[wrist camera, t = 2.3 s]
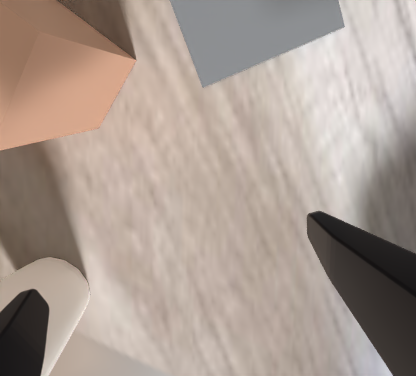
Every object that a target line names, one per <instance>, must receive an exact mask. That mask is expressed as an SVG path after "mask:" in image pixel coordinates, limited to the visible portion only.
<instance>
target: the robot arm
mask: <svg viewBox="0 0 416 376" xmlns="http://www.w3.org/2000/svg"><path fill="white" fill-rule="evenodd" d="M307 235H308V238H309V240H310V242H311V244H312V246H313V248H314V250H315V252H316V254H317V256H318V258H319V260H320V262H321V264H322V266H323V268H324V270H325V272H326V273H327V275H328V277H329V279H330V281H331V282H332V284H333V285H334V287H335V288H336V290H337V291H338V293H339V294H340V296H341V297H342V299H343V300H344V302H345V303H346V305H347V306H348V308H349V309H350V311H351V312H352V314H353V316H354V317H355V319H356V320H357V322H358V323H359V325H360V326H361V328H362V329H363V331H364V332H365V334H366V335H367V337H368V338H369V340H370V341H371V343H372V344H373V346H374V347H375V349H376V350H377V352H378V353H379V355H380V356H381V358H382V359H383V361H384V362H385V364H386V365H387V367H388V368H389V370H390V371H391V373H392V374H393V376H416V254H415V253H413V252H411V251H408V250H406V249H404V248H402V247H400V246H397V245H395V244H393V243H391V242H388V241H386V240H384V239H382V238H380V237H377V236H375V235H373V234H371V233H368V232H366V231H364V230H362V229H360V228H357V227H355V226H353V225H351V224H348V223H346V222H344V221H342V220H339V219H337V218H335V217H333V216H331V215H328V214H326V213H324V212H322V211H316V212H312V213H309V214H308V215H307ZM48 321H49V305H48V303H47V302H46V301H45V299H44V298H43V297H42V296H41V294H40V293H39V292H38V291H37V290H36V289H29V290H26V291H22V292H20V293H19V294H18V295H17V296H16V297H15V298H14V299H13V300H12V301H11V302H10V303H9V304H8V305H7V306H6V307H5V308H4V309H3V310H2V311H1V312H0V376H41V372H42V367H43V362H44V356H45V348H46V339H47V330H48Z"/></svg>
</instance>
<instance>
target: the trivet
mask: <svg viewBox="0 0 416 376" xmlns="http://www.w3.org/2000/svg"><path fill="white" fill-rule="evenodd" d="M170 2H171V5H172V7H173V10H174V13H175V15H176V18H177V21H178V23H179V26H180V29H181V31H182V34H183V37H184V39H185V42H186V45H187V47H188V50H189V52H190V55H191V58H192V60H193V63H194V66H195V68H196V71H197V74H198V76H199V79H200V82H201V84H202V87H203V88H205V87H207V86H209V85H212V84H214V83H216V82H219V81H221V80H223V79H226V78H228V77H230V76H233V75H235V74H237V73H240V72H242V71H244V70H247V69H249V68H251V67H254V66H256V65H258V64H261V63H263V62H265V61H268V60H270V59H272V58H275V57H277V56H279V55H282V54H284V53H286V52H289V51H291V50H293V49H296V48H298V47H300V46H303V45H305V44H307V43H310V42H312V41H314V40H317V39H319V38H321V37H324V36H326V35H328V34H331V33H333V32H335V31H338V30H340V29H342V28H344V27H345V26H344V22H343V18H342V14H341V10H340V5H339V1H338V0H170Z"/></svg>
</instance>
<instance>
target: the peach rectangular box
mask: <svg viewBox="0 0 416 376" xmlns="http://www.w3.org/2000/svg"><path fill="white" fill-rule="evenodd" d="M135 62H136V60H135V59H134V58H133V57H131V56H130V55H129V54H127V53H126V52H125V51H123V50H122V49H121V48H119V47H118V46H117V45H115V44H114V43H113V42H111V41H110V40H109V39H107V38H106V37H105V36H104V35H102V34H101V33H100V32H98V31H97V30H96V29H94V28H93V27H92V26H90V25H89V24H88V23H86V22H85V21H84V20H82V19H81V18H80V17H78V16H77V15H76V14H74V13H73V12H72V11H70V10H69V9H68V8H66V7H65V6H64V5H62V4H61V3H60V2H59V1H57V0H0V150H5V149H9V148H14V147H18V146H23V145H27V144H32V143H36V142H40V141H45V140H49V139H54V138H58V137H63V136H67V135H72V134H76V133H81V132H85V131H89V130H94V129H98V128H99V127H100V125H101V123H102V121H103V120H104V118H105V116H106V114H107V112H108V111H109V109H110V107H111V105H112V103H113V102H114V100H115V98H116V96H117V94H118V93H119V91H120V89H121V87H122V85H123V83H124V82H125V80H126V78H127V76H128V74H129V73H130V71H131V69H132V67H133V65H134V64H135Z"/></svg>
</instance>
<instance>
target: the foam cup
mask: <svg viewBox="0 0 416 376" xmlns="http://www.w3.org/2000/svg"><path fill="white" fill-rule="evenodd" d="M29 289H36V290H37V291H38V292H39V293H40V294H41V296H42V297H43V298H44V299H45V301H46V302H47V303H48V305H49V321H48V330H47V339H46V348H45V356H44V362H43V367H42V372H41V376H49V374H50V372H51V370H52V368H53V367H54V365H55V363H56V361H57V360H58V358H59V356H60V354H61V352H62V351H63V349H64V347H65V345H66V343H67V342H68V340H69V338H70V336H71V335H72V333H73V331H74V329H75V327H76V326H77V324H78V322H79V320H80V318H81V317H82V315H83V313H84V311H85V308H86V307H87V305H88V302H89V298H90V295H91V294H90V290H89V286H88V282H87V280H86V279H85V277H84V276H83V275H82V273H81V272H80V271H79V269H77V268H76V267H74V266H73V265H71V264H70V263H68V262H67V261H65V260H62V259H57V258H53V257H47V258H42V259H38V260H36V261H34V262H32V263H30V264H28V265H26V266H24V267H23V268H21V269H19V270H17V271H15V272H14V273H12V274H10V275H8V276H7V277H5V278H3V279H1V280H0V312H1V311H2V310H3V309H4V308H5V307H6V306H7V305H8V304H9V303H10V302H11V301H12V300H13V299H14V298H15V297H16V296H17V295H18V294H19V293H20V292H22V291H26V290H29Z"/></svg>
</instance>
